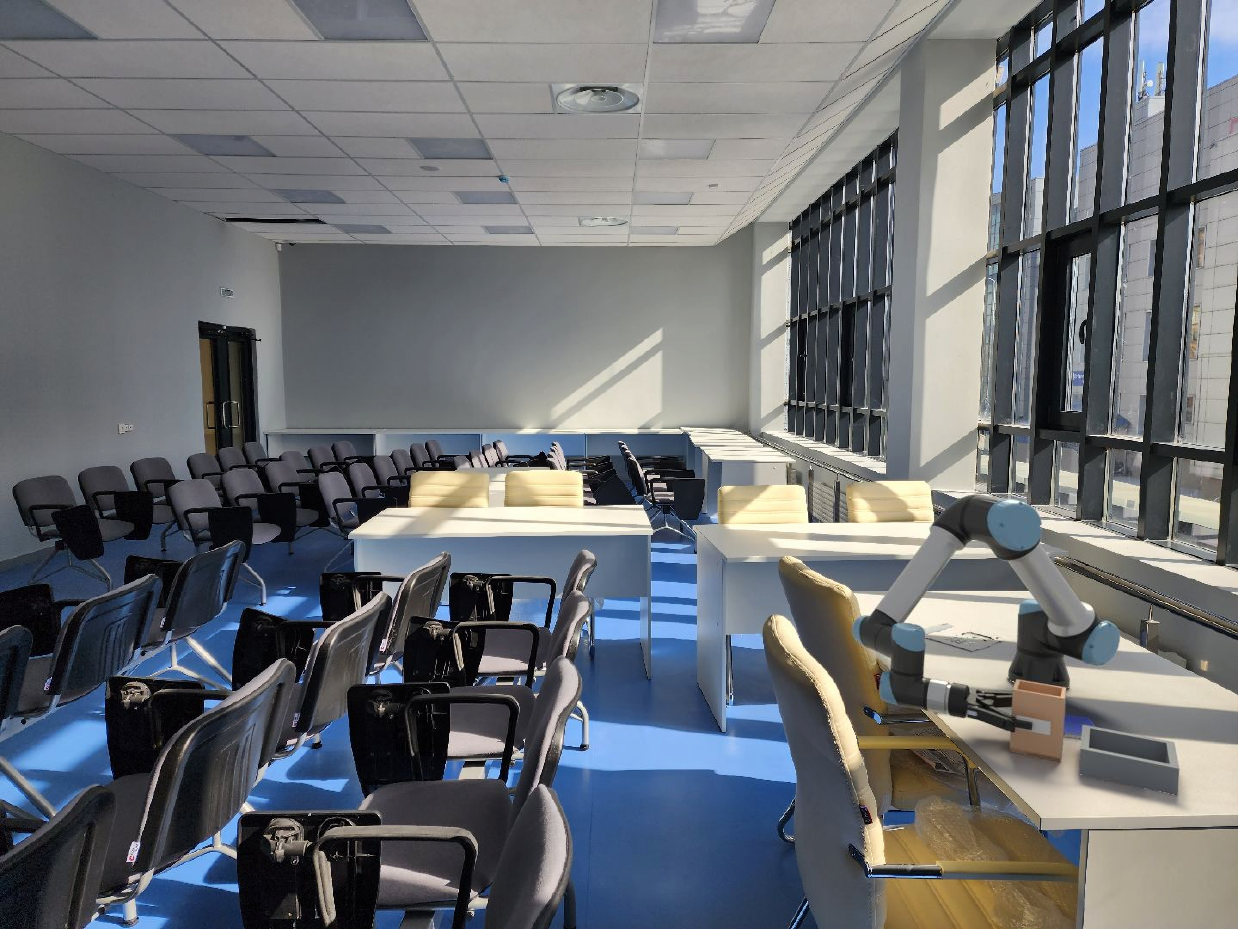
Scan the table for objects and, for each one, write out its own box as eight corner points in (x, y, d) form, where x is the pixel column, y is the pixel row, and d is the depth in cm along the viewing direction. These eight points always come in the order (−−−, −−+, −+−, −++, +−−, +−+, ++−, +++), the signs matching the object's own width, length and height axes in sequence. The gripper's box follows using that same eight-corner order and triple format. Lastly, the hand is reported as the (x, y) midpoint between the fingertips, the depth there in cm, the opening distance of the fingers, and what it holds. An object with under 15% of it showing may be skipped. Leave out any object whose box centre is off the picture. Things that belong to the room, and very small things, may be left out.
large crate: (1081, 748, 183) (1082, 724, 182) (1172, 767, 174) (1174, 742, 174) (1078, 774, 170) (1080, 748, 169) (1177, 795, 161) (1179, 768, 161)
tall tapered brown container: (1013, 738, 188) (1016, 679, 186) (1062, 749, 182) (1066, 687, 181) (1009, 751, 181) (1012, 689, 180) (1060, 762, 176) (1064, 698, 174)
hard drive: (1104, 737, 187) (1089, 717, 199) (1064, 732, 189) (1052, 713, 201) (1103, 743, 187) (1089, 723, 199) (1064, 739, 189) (1051, 719, 201)
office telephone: (908, 628, 272) (944, 619, 283) (907, 635, 272) (944, 626, 283) (972, 645, 253) (1008, 635, 264) (972, 653, 253) (1008, 643, 264)
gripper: (957, 698, 201) (1054, 716, 190) (938, 732, 180) (1047, 755, 169) (958, 668, 201) (1056, 684, 190) (940, 699, 179) (1049, 720, 168)
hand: (1052, 718), depth 179 cm, fingers open, 13 cm apart
